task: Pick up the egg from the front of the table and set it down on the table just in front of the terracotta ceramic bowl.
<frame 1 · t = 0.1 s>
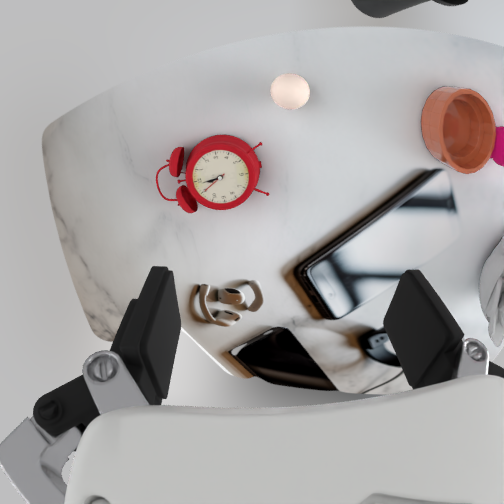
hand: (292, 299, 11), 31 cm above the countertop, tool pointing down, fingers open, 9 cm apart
egg: (286, 91, 34), on the countertop
pepper mill: (487, 139, 35), on the countertop
bowl: (450, 125, 35), on the countertop
decorative bowl: (501, 259, 49), on the countertop
alarm clock: (211, 171, 40), on the countertop
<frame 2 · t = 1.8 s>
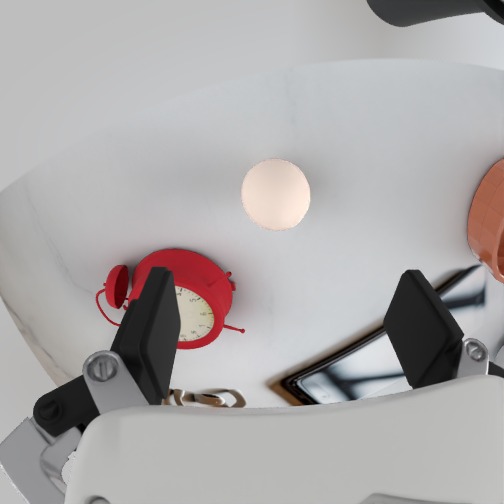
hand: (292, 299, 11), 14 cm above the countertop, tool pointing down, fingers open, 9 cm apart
egg: (272, 179, 23), on the countertop
bowl: (501, 209, 23), on the countertop
alarm clock: (167, 290, 29), on the countertop
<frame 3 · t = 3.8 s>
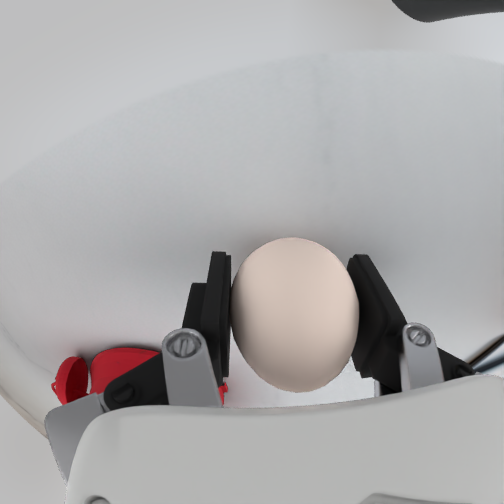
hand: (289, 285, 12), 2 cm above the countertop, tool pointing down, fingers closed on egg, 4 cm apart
egg: (283, 258, 13), on the countertop, touching gripper
alarm clock: (137, 383, 19), on the countertop
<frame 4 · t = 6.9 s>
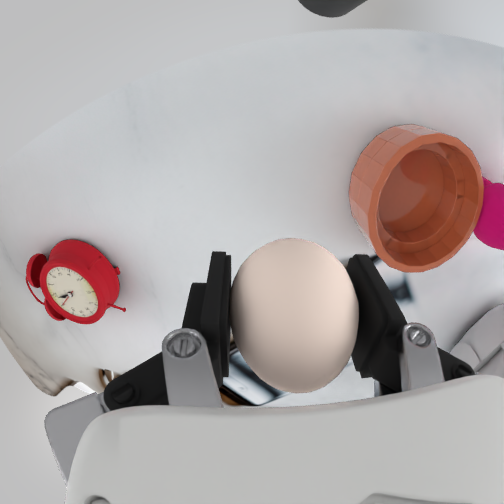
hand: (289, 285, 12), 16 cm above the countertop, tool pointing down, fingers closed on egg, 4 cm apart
egg: (283, 259, 13), point 14 cm above the countertop, touching gripper
pepper mill: (472, 198, 26), on the countertop
bowl: (406, 187, 26), on the countertop
decorative bowl: (480, 332, 41), on the countertop
alarm clock: (74, 275, 31), on the countertop
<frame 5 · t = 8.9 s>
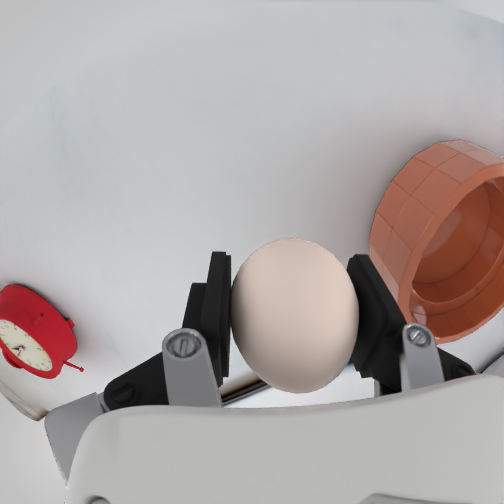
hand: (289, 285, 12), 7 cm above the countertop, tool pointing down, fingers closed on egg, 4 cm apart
egg: (283, 259, 13), point 5 cm above the countertop, touching gripper
bowl: (443, 227, 18), on the countertop
alarm clock: (29, 320, 23), on the countertop
when the fingers open (2 cm above the countertop, at t = 10.4 s): egg stays where it is, on the countertop.
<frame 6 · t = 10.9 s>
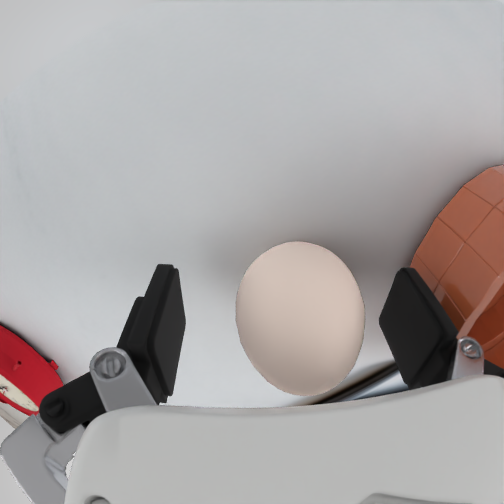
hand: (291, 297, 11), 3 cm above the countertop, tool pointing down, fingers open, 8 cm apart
egg: (288, 262, 13), on the countertop
bowl: (481, 263, 14), on the countertop
alarm clock: (13, 356, 19), on the countertop
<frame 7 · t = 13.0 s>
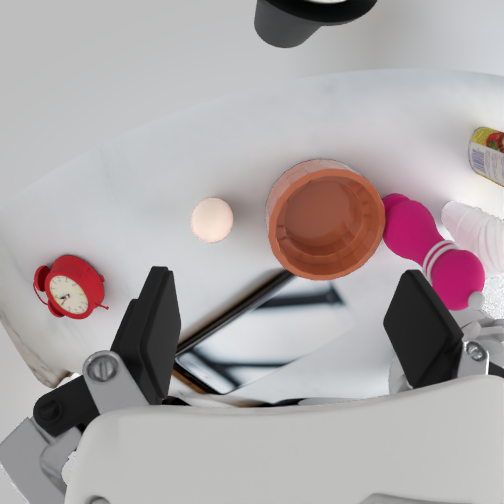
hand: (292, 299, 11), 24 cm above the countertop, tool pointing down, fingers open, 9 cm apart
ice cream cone: (449, 212, 36), on the countertop
egg: (214, 209, 35), on the countertop
pepper mill: (392, 214, 36), on the countertop
canned food: (483, 150, 30), on the countertop
bowl: (318, 210, 35), on the countertop
decorative bowl: (431, 334, 49), on the countertop
alarm clock: (71, 282, 40), on the countertop
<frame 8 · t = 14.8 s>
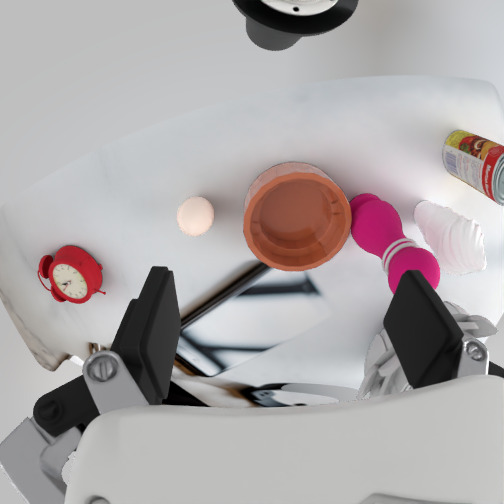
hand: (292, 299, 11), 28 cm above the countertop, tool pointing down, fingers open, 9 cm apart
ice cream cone: (422, 211, 40), on the countertop
egg: (199, 206, 39), on the countertop
pepper mill: (364, 212, 40), on the countertop
canned food: (458, 153, 34), on the countertop
bowl: (292, 208, 39), on the countertop
decorative bowl: (409, 327, 54), on the countertop
alarm clock: (72, 270, 44), on the countertop
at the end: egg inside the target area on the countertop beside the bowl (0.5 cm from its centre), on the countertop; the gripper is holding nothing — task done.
